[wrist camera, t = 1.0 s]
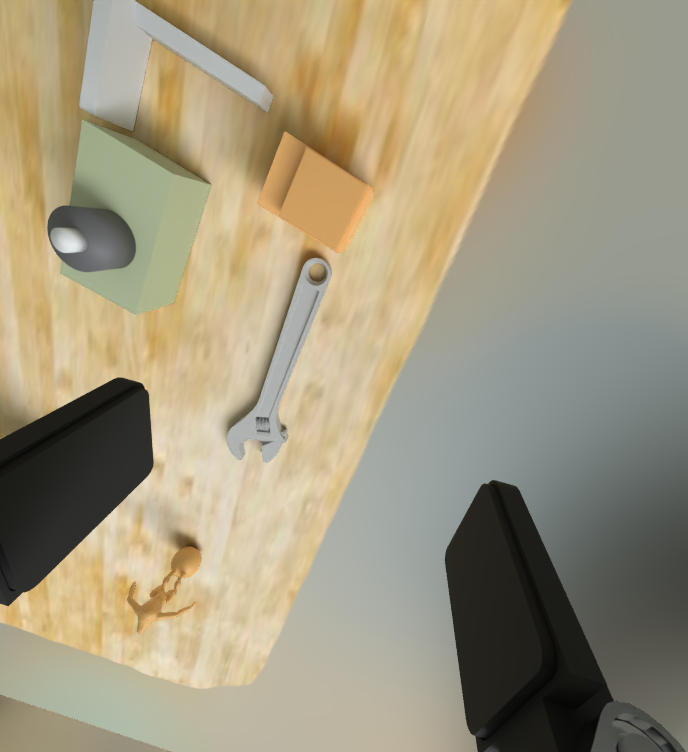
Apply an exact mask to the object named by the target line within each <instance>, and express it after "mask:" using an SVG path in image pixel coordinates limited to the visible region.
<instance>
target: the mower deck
mask: <svg viewBox="0 0 688 752" xmlns="http://www.w3.org/2000/svg"><path fill="white" fill-rule="evenodd" d="M152 39H153V40H155V41H156V42H158V43H159V44H161V45H163V46H164V47H166V48H167V49H169V50H170V51H172V52H173V53H175V54H176V55H178V56H180V57H181V58H183V59H184V60H186V61H187V62H189V63H190V64H192V65H194V66H195V67H197V68H198V69H200V70H201V71H203V72H204V73H206V74H207V75H209V76H211V77H212V78H214V79H215V80H217V81H218V82H220V83H221V84H223V85H225V86H226V87H228V88H229V89H231V90H232V91H234V92H235V93H237V94H238V95H240V96H242V97H243V98H245V99H246V100H248V101H249V102H251V103H252V104H254V105H256V106H257V107H259V108H260V109H262V110H263V111H265V112H266V113H268V111H269V109H270V106H271V103H272V100H273V97H274V96H273V95H272V94H271V93H270V91H269V90H268V89H267V88H266V86H265V85H263V84H261V83H260V82H258V81H257V80H255V79H254V78H252V77H251V76H249V75H248V74H246V73H245V72H243V71H242V70H240V69H239V68H237V67H235V66H234V65H232V64H231V63H229V62H228V61H226V60H225V59H223V58H222V57H220V56H219V55H217V54H216V53H214V52H213V51H211V50H210V49H208V48H206V47H205V46H203V45H202V44H200V43H199V42H197V41H196V40H194V39H193V38H191V37H190V36H188V35H187V34H185V33H184V32H182V31H180V30H179V29H177V28H176V27H174V26H173V25H171V24H170V23H168V22H167V21H165V20H164V19H162V18H161V17H159V16H158V15H156V14H154V13H153V12H151V11H150V10H148V9H147V8H145V7H144V6H142V5H141V4H139V3H138V2H137V1H135V0H94V2H93V9H92V16H91V23H90V31H89V38H88V45H87V52H86V59H85V67H84V74H83V81H82V88H81V96H80V103H79V107H81V108H82V109H84V110H86V111H87V112H89V113H90V114H92V115H94V116H96V117H98V118H101V119H103V120H106V121H108V122H111V123H113V124H116V125H118V126H121V127H123V128H125V129H128V130H130V131H133V130H134V125H135V121H136V116H137V111H138V106H139V101H140V96H141V91H142V86H143V82H144V77H145V72H146V67H147V62H148V57H149V52H150V48H151V43H152ZM210 188H211V184H209V183H207V182H206V181H204V180H202V179H201V178H199V177H198V176H196V175H194V174H193V173H191V172H189V171H188V170H186V169H184V168H183V167H181V166H179V165H178V164H176V163H175V162H173V161H171V160H170V159H168V158H166V157H165V156H163V155H161V154H160V153H158V152H156V151H155V150H153V149H152V148H150V147H148V146H147V145H145V144H143V143H142V142H140V141H138V140H136V139H134V138H131V137H128V136H126V135H123V134H120V133H118V132H115V131H113V130H110V129H107V128H105V127H102V126H99V125H97V124H94V123H92V122H89V121H86V120H84V119H82V125H81V132H80V139H79V146H78V153H77V160H76V167H75V174H74V180H73V187H72V194H71V201H70V206H61V207H58V208H56V209H55V210H54V211H53V212H52V213H51V215H50V217H49V220H48V227H47V228H48V236H49V240H50V242H51V245H52V247H53V249H54V250H55V252H56V253H57V255H58V256H59V257H60V258H61V260H62V263H61V270H60V273H61V274H63V275H64V276H66V277H68V278H70V279H72V280H73V281H75V282H77V283H79V284H81V285H82V286H84V287H86V288H88V289H90V290H92V291H93V292H95V293H97V294H99V295H101V296H102V297H104V298H106V299H108V300H110V301H112V302H113V303H115V304H117V305H119V306H121V307H122V308H124V309H126V310H128V311H130V312H132V313H133V314H135V315H138V314H141V313H144V312H147V311H151V310H154V309H157V308H160V307H163V306H166V305H169V304H173V303H174V302H175V299H176V295H177V292H178V289H179V286H180V283H181V280H182V276H183V273H184V270H185V267H186V264H187V261H188V257H189V254H190V251H191V248H192V245H193V242H194V238H195V235H196V232H197V229H198V226H199V223H200V219H201V216H202V213H203V210H204V207H205V204H206V200H207V197H208V194H209V191H210Z"/></svg>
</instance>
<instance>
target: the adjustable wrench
mask: <svg viewBox="0 0 688 752" xmlns="http://www.w3.org/2000/svg"><path fill="white" fill-rule="evenodd" d="M315 263H319V264H322V265H323V266H324V267H325V269H326V277H325V278H324V279H323V280H322V281H320V282H316V281H314V280H312V279H311V278H310V276H309V268H310V267H311V266H312V265H313V264H315ZM331 275H332V270H331V267H330V264H329V263H328V262H327V261H326V260H324V259H322V258H312V259H310V260H308V261H307V262H306V263H305V264H304V266H303V268H302V271H301V274H300V277H299V280H298V283H297V286H296V289H295V292H294V295H293V298H292V301H291V304H290V307H289V310H288V313H287V317H286V320H285V323H284V326H283V329H282V332H281V335H280V338H279V341H278V344H277V347H276V350H275V353H274V356H273V359H272V362H271V365H270V368H269V371H268V374H267V377H266V380H265V383H264V386H263V389H262V392H261V395H260V398H259V401H258V403H257V405H256V406H255V407H254V408H253V409H252V410H251V411H250V412H249V413H248V414H247V415H245V416H244V417H243V418H241V419H240V420H239V421H237V422H236V423H235V424H234V425H233V427H232V428H231V429H230V430H229V432H228V434H227V445H228V448H229V450H230V451H231V453H232V454H233V455H234V456H235V457H236V458H237V459H239V460H241V459H242V458H243V456H244V455H245V450H244V443H243V442H244V441H246V440H248V439H250V440H261V441H262V442H263V445H262V446H261V447H262V456H263V462H269V461H271V460H272V459H273V458H274V457H275V456H276V455H277V453H278V452H279V450H280V448H281V446H282V444H283V442H286V441H287V439H288V434H287V429H283V427H282V425H281V422H280V419H279V414H278V410H279V405H280V401H281V399H282V396H283V394H284V392H285V389H286V387H287V384H288V382H289V379H290V377H291V374H292V372H293V370H294V367H295V365H296V362H297V360H298V357H299V355H300V352H301V350H302V347H303V345H304V343H305V340H306V338H307V335H308V333H309V330H310V328H311V325H312V323H313V321H314V318H315V316H316V313H317V311H318V308H319V306H320V303H321V301H322V298H323V296H324V294H325V291H326V289H327V286H328V284H329V281H330V279H331Z"/></svg>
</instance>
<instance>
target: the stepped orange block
mask: <svg viewBox="0 0 688 752" xmlns="http://www.w3.org/2000/svg"><path fill="white" fill-rule="evenodd" d="M374 196H375V194H374V191H373V188H372V187H371V186H369V185H368V184H366V183H365V182H363V181H361V180H360V179H358V178H357V177H355V176H354V175H352V174H351V173H349V172H347V171H346V170H344V169H343V168H341V167H340V166H338V165H337V164H335V163H333V162H332V161H330V160H329V159H327V158H326V157H324V156H323V155H321V154H319V153H318V152H316V151H315V150H313V149H312V148H310V147H309V146H307V145H305V144H304V143H302V142H301V141H299V140H298V139H296V138H295V137H293V136H291V135H290V134H288V133H287V132H285V131H284V134H283V137H282V139H281V142H280V145H279V147H278V150H277V152H276V155H275V158H274V160H273V163H272V166H271V168H270V171H269V173H268V176H267V179H266V181H265V184H264V186H263V189H262V192H261V194H260V197H259V200H258V202H257V204H258V205H260V206H262V207H263V208H265V209H267V210H268V211H270V212H271V213H273V214H275V215H276V216H278V217H280V218H281V219H283V220H285V221H286V222H288V223H289V224H291V225H293V226H294V227H296V228H298V229H299V230H301V231H302V232H304V233H306V234H307V235H309V236H311V237H312V238H314V239H316V240H317V241H319V242H320V243H322V244H324V245H325V246H327V247H329V248H330V249H332V250H334V251H335V252H337V253H341V252H344V251H346V249H347V248H348V246H349V244H350V242H351V240H352V238H353V236H354V234H355V232H356V230H357V228H358V227H359V225H360V223H361V221H362V219H363V217H364V215H365V213H366V211H367V209H368V208H369V206H370V204H371V202H372V200H373V198H374Z"/></svg>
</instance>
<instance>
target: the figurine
mask: <svg viewBox="0 0 688 752" xmlns="http://www.w3.org/2000/svg"><path fill="white" fill-rule="evenodd" d="M200 564H201V554H200V552H199V551H198V550H197V549H196V548H194V547H185V548H182V549H180V550H179V551H178V552H177V553H176V554H175V555H174V557H173V559H172V562H171V570H172V571H171V572H170V573H169V574H168V576H166V577H165V578H164V580H163V584H162V585H161V586H158V587H157V588H155V589H154V590H153V591H152V592H151V594H150V597H151V598H152V599H150V600H149V601H148V602H147V603H145V604H144V605H142V606H140V605H139V604H138V603H137V602H136V601H135V600H134V599H133V598H132V597H133V592H134V589H136V588H134V587H135V586H136V585H135V582H134V583H133V584H132V586H131V588H130V591H129V596H128V598H127V601H128V603H129V604H130V606H131V607H132V608H133V610H134V612H135V613H136V615H137V616H138V627H137V632H138V633H142V632H143V631H144V630H145V629H146V628H147V627H148V626H149V625H150V624H151V623H152V622H154V621H158V620H161V619H168V618H174V617H177V616H179V615H180V614H181V613H184V612H186V611H187V610H189V609H190V608H192V606H193V605H194V604H195V602H194V603H193V604H192V605H191V606H189V607H186V608H183V609H181V610H179V611H178V612H168V613H161V608H162V605H163V602H164V600H165V599H166V603H169V602H170V601H171V600H172V598H173V597H174V596H175V595H176V593H177V589H178V587H179V586H180V584H181V581H180V580H181V579H182V578H187V577H190V576H192V575H193V574H194V573H195V572H196V571H197V570H198V569H199V567H200ZM173 574H174V575H175V576H176V577H178V580H177V581H176V582H175V589H174V590H169V591H168V592H167V593H165V591H164V586H165V585H166V584H167V583H168V581H169V578H170V577H171V576H172V575H173ZM134 585H135V586H134Z"/></svg>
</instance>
